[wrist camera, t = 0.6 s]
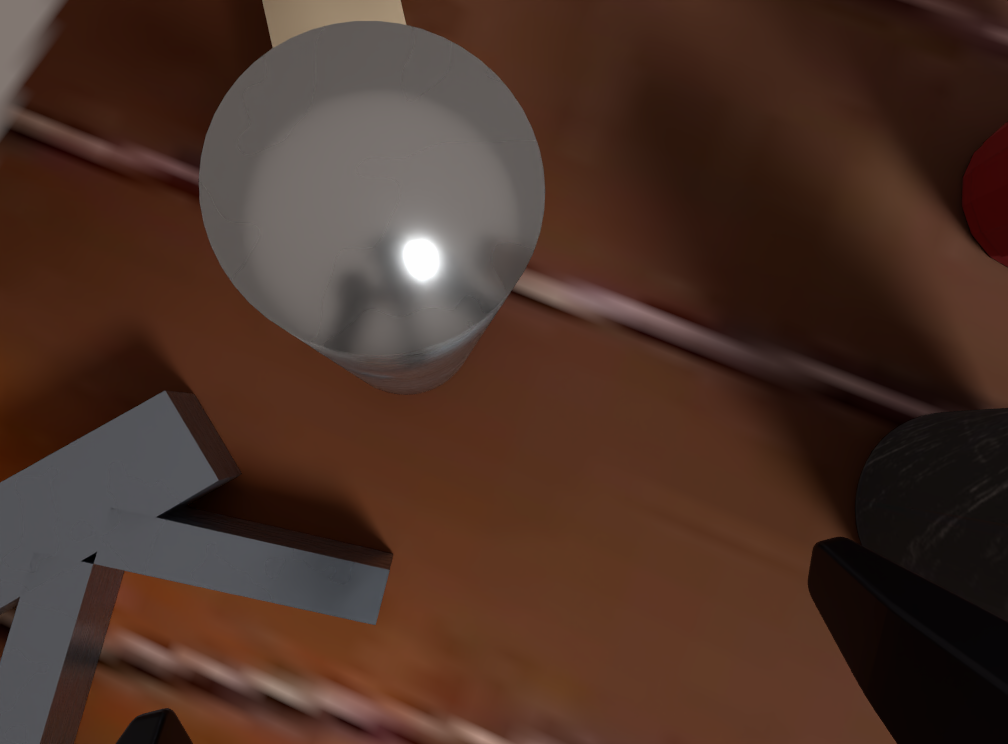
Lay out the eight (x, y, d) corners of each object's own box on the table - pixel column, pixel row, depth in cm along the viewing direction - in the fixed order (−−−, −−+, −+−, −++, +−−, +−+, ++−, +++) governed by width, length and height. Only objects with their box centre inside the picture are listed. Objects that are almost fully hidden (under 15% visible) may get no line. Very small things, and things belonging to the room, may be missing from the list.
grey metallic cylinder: (431, 419, 23) (439, 417, 9) (309, 350, 23) (129, 240, 9) (498, 302, 24) (603, 134, 10) (381, 233, 23) (315, -42, 9)
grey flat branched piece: (411, 583, 23) (409, 603, 20) (19, 831, 21) (-36, 886, 18) (271, 350, 23) (252, 341, 20) (-132, 577, 21) (-208, 598, 18)
